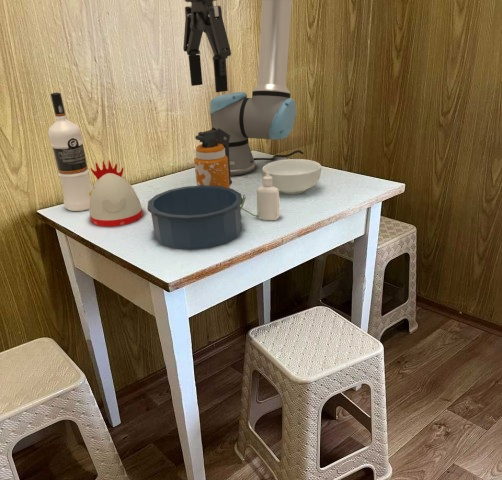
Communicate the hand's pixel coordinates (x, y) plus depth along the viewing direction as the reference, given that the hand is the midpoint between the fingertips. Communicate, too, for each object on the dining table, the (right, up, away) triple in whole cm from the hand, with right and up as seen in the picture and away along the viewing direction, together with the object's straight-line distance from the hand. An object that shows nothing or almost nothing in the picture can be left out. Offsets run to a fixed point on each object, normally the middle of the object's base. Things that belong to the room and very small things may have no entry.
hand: (208, 88), depth 122 cm
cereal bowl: (+22, -16, +30) cm, 41 cm away
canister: (+1, -22, +23) cm, 32 cm away
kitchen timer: (-26, -26, +18) cm, 42 cm away
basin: (-3, -33, +7) cm, 33 cm away
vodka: (-39, -22, +26) cm, 52 cm away
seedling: (+12, -28, +12) cm, 33 cm away
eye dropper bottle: (+15, -28, +12) cm, 34 cm away
